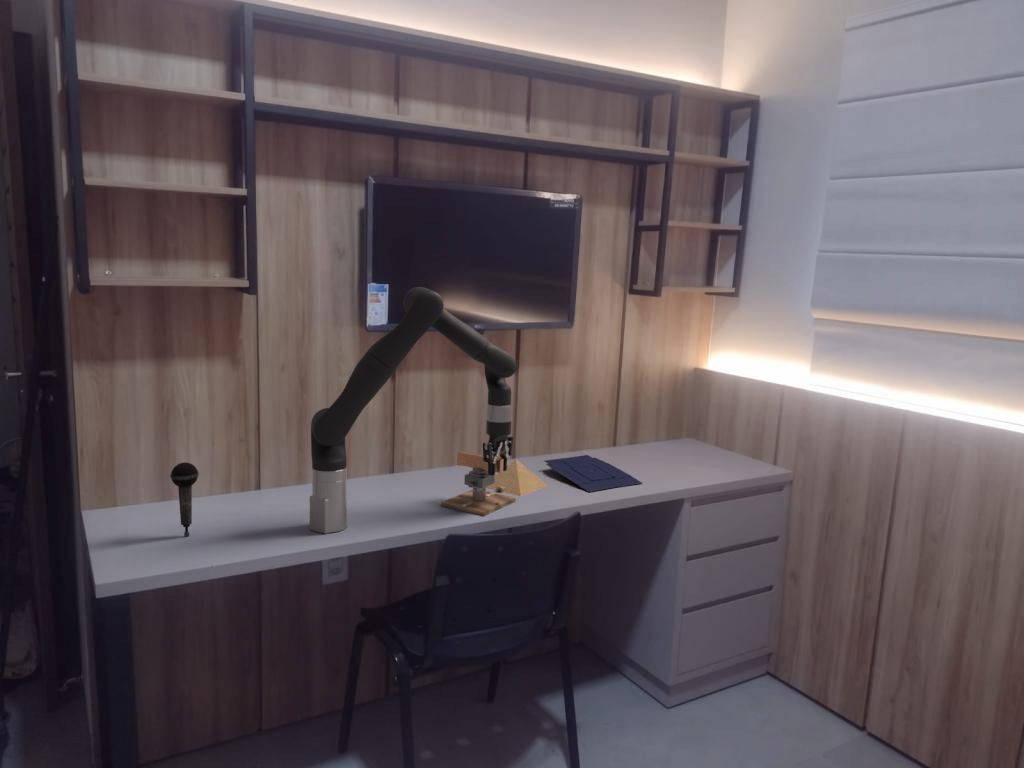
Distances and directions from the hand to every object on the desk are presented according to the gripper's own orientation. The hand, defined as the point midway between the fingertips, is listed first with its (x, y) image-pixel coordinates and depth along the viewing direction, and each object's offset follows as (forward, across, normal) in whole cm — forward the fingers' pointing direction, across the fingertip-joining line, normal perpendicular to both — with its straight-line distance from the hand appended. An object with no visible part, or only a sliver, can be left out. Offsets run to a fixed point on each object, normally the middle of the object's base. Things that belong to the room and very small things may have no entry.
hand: (497, 472), depth 227 cm
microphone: (+11, -70, +52) cm, 88 cm away
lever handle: (+5, 0, +6) cm, 8 cm away
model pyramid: (+12, +23, +8) cm, 27 cm away
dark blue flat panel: (+11, +49, -8) cm, 51 cm away
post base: (+11, 0, +6) cm, 13 cm away
